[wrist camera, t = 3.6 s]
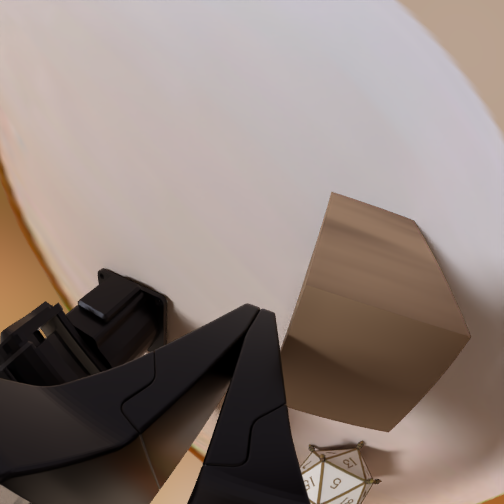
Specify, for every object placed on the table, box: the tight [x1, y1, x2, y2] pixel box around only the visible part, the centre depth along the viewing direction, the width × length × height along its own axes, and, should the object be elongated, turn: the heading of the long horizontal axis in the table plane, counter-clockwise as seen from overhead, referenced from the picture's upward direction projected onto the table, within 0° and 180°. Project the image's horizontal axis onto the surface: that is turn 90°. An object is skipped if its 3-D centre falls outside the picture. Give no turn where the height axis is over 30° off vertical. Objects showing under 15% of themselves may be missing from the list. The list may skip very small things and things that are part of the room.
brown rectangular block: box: [280, 192, 471, 432], centre depth 11 cm, size 4×4×9 cm
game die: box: [300, 441, 381, 504], centre depth 19 cm, size 9×8×10 cm
